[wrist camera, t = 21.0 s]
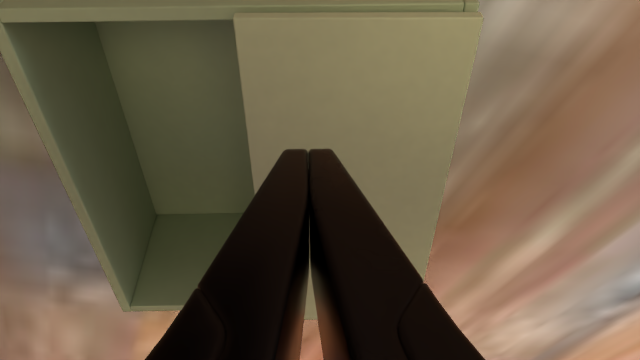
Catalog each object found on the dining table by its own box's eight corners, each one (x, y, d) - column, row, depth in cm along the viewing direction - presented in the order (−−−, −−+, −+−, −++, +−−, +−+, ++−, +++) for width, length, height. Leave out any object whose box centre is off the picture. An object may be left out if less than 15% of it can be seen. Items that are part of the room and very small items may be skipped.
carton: (60, -67, 17) (-22, 9, 13) (436, -70, 17) (480, 2, 13) (152, 214, 27) (122, 312, 22) (395, 209, 27) (413, 305, 22)
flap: (234, 12, 13) (232, 17, 13) (481, 11, 13) (484, 17, 13) (270, 313, 22) (270, 320, 22) (414, 312, 22) (415, 319, 22)
